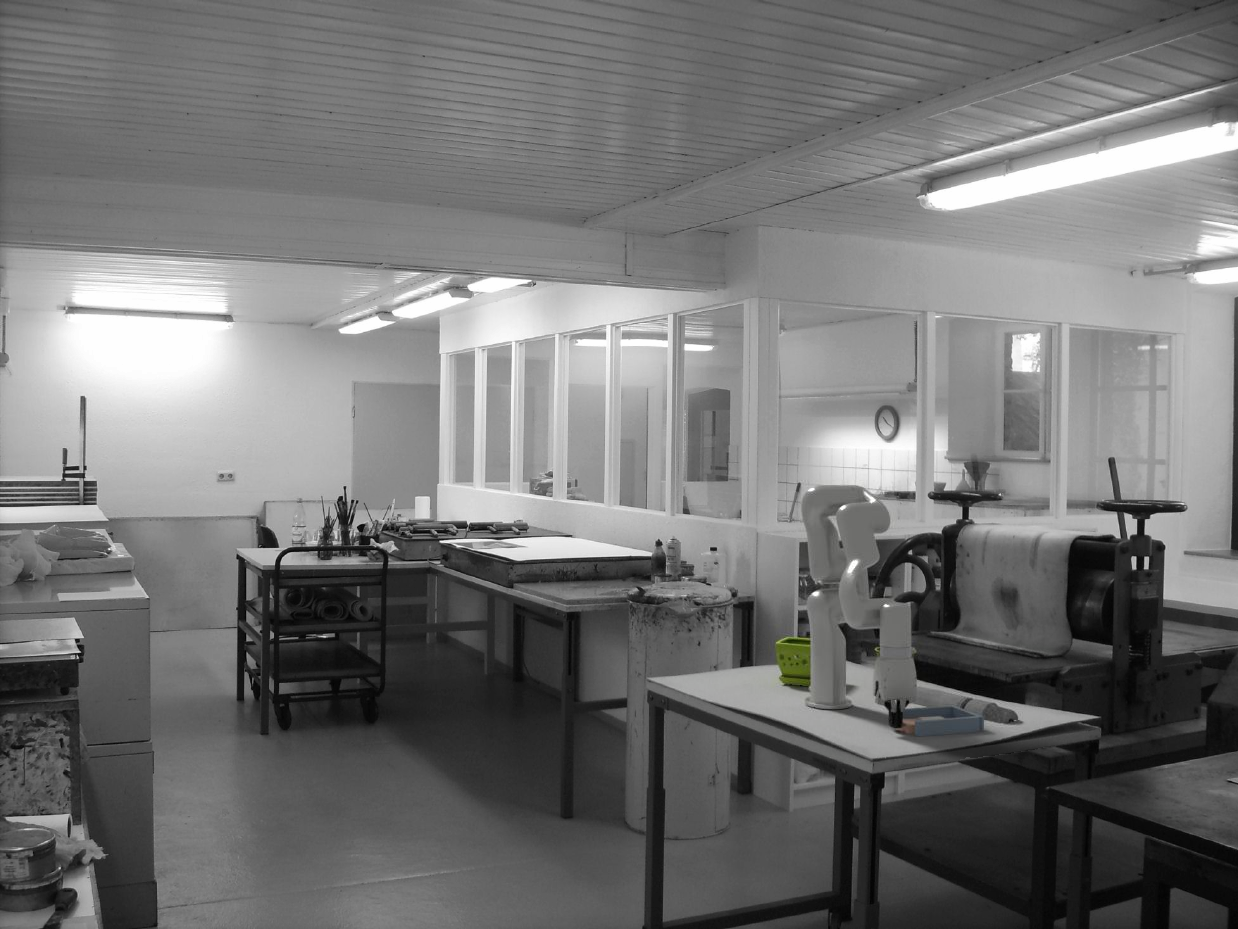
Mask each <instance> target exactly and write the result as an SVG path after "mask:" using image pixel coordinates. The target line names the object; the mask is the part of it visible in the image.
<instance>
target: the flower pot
mask: <svg viewBox="0 0 1238 929" xmlns="http://www.w3.org/2000/svg"><path fill="white" fill-rule="evenodd" d="M774 648H775V654H776V660H777V665H778V668H779V671H780V672H781V675H779V676H778V679H779V680H780V682H781V683H782V684H784V683H785V684H784V685H790V684H792V685H791V686H800V685H802V687H810V686H811V640H810V638H808V637H807V638H806V637H796V636H794V637H793V636H787V637H785V638H781V639H780V640H778V641H776V642H775V647H774ZM795 656H796V657H795Z"/></svg>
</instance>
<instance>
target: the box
mask: <svg viewBox="0 0 1238 929" xmlns="http://www.w3.org/2000/svg"><path fill="white" fill-rule="evenodd" d="M935 716H941V717H943V718H945V719H934V720H921V721H915V734H914V736H916V737H928V736H941V735H953V734H965V733H975V732H976V733H977V732H984V731H985V720H984V717H983V716H980V715H978V714H975V713H972V712H970V711H967V710H964V709H962V708H959V707H957V706H954V705H949V706H935V707H925V706H922V707H913V708H912V707H910V708H908V707H907V708H905V711H904V712H903V719H915V718H918V717H935Z"/></svg>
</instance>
